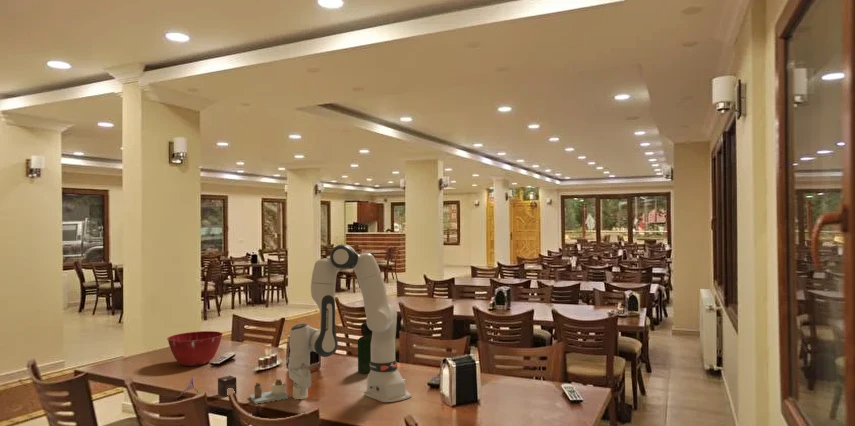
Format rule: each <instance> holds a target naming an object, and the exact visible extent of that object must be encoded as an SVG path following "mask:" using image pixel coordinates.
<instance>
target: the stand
mask: <svg viewBox="0 0 855 426" xmlns="http://www.w3.org/2000/svg"><path fill="white" fill-rule="evenodd" d="M270 387H271V390H270V391H265V392H262V391H263V385H262V384H261V382H259V381H257V382H255V384H254V393H253V394H249V395H248V397H250V398H251V399H250V398H249V399H250V400H251V401H252V403H253V404H255V405H259V404H258V403H261V404H265V403H264V402H267V403H270V401H272V402H276V401H275V400H277V401H282V400H281V399H283V400H287V399H289V395H288V394H286V393H287V383H285V382H283V381H282V379H281V378H277V379H276V380H275V382H273V383H272V384H271V385H270Z"/></svg>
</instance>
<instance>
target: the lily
mask: <svg viewBox="0 0 855 426" xmlns="http://www.w3.org/2000/svg"><path fill="white" fill-rule="evenodd" d="M198 375H199V373H197V374H196V375H195V376H194V375H192V377H191V378H190V380H189V382H187V383H185V385H186V387H185V389H183V391H182V392H181V393H180V394H179V396H178V398H180V397H181V395H182V394H186V393H187V391H189V390H193V389H194V390H195V391H196V392H197V394H198V393H199V394H200V392H199V391H198V390H197V388H196V387H195V379H196V377H197V376H198Z"/></svg>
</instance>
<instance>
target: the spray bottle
mask: <svg viewBox="0 0 855 426" xmlns="http://www.w3.org/2000/svg"><path fill="white" fill-rule="evenodd" d="M372 332H373V331H371V330H370V329H369V328H368V326H367V322H365V321H364V322H362V323H361V325H360V334H361V335H362V336H361V337H359V338H358V339H357V372H358V373H360V374H362V375H368V374H369V373H370V370H371V369H370V360H371V339H372Z"/></svg>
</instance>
